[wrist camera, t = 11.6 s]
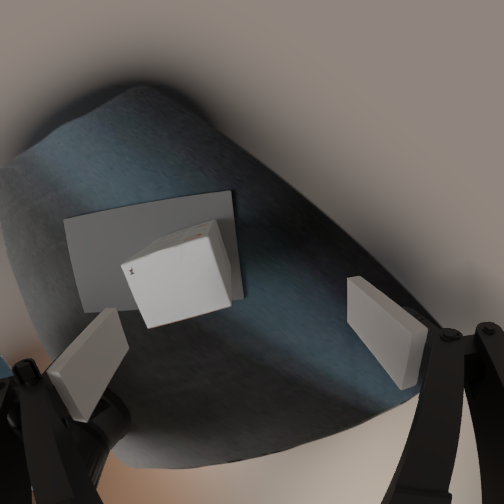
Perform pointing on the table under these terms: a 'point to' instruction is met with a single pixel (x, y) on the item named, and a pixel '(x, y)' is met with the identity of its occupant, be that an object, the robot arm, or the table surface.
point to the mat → (140, 243)
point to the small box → (181, 275)
